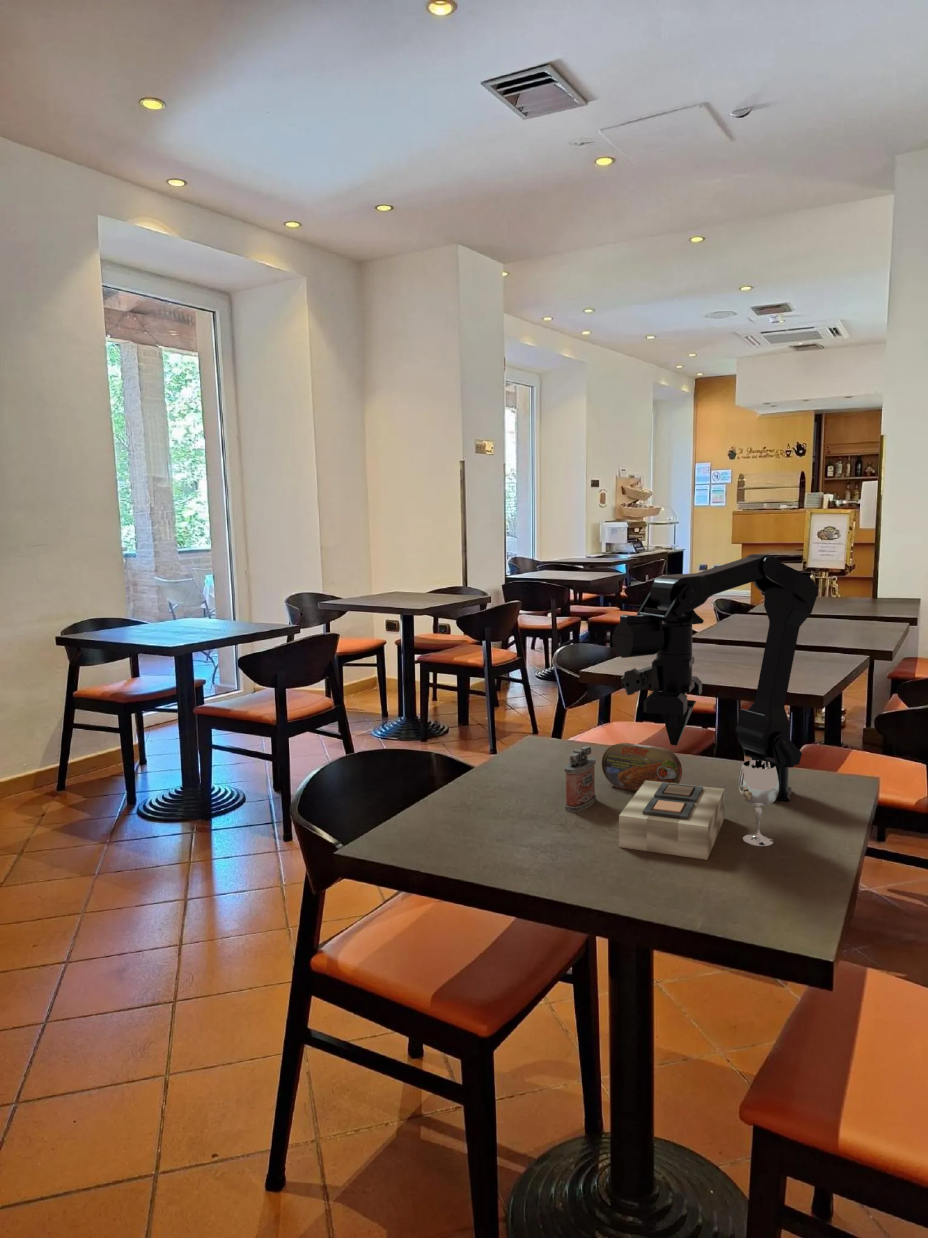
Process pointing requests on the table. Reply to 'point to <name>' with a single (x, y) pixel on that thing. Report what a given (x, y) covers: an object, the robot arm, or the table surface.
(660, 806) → the peg
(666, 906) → the table surface
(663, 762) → the tin
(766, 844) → the wineglass
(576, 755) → the lighter
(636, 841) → the board
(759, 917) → the table surface
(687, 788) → the peg
